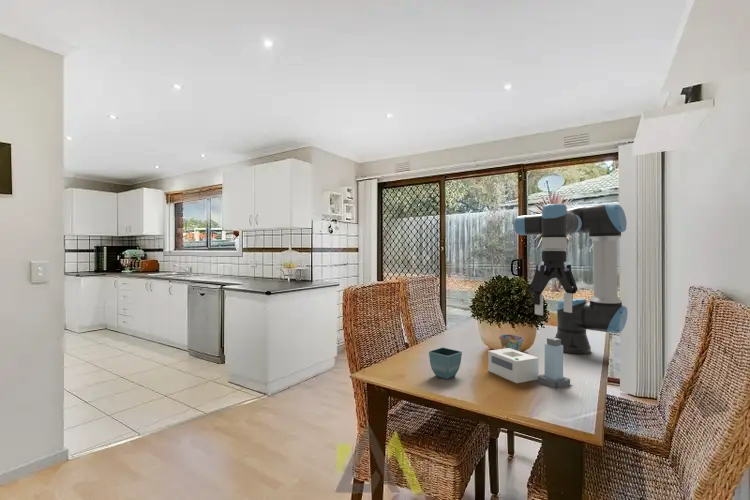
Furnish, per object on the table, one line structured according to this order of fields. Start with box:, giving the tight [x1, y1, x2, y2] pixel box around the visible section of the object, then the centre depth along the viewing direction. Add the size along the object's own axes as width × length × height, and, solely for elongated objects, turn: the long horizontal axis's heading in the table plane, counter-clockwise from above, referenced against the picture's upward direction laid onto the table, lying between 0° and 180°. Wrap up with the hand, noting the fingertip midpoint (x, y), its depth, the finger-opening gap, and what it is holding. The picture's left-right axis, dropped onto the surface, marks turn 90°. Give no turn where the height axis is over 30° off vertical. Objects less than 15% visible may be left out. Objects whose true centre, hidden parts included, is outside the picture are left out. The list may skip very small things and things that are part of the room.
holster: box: [535, 373, 573, 390], centre depth 124 cm, size 8×8×2 cm
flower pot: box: [428, 347, 463, 380], centre depth 133 cm, size 9×9×9 cm
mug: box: [498, 334, 525, 352], centre depth 149 cm, size 12×9×11 cm
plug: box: [544, 336, 564, 381], centre depth 124 cm, size 4×4×15 cm
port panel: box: [487, 348, 540, 384], centre depth 132 cm, size 10×14×8 cm
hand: (553, 313), depth 124 cm, fingers open, 13 cm apart
